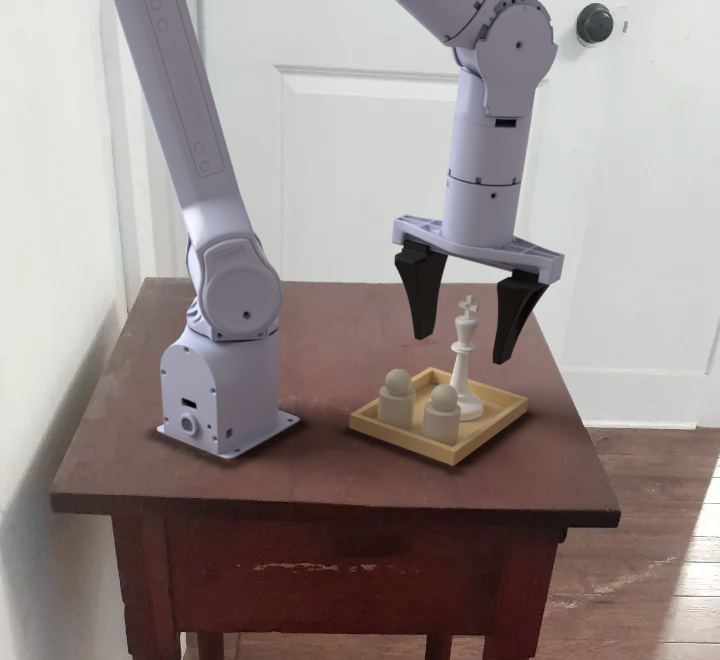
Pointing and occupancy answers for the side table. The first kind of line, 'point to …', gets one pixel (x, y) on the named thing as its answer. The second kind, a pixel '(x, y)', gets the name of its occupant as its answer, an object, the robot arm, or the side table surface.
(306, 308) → the side table surface
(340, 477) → the side table surface
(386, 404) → the pawn
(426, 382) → the chess tray
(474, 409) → the chess piece
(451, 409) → the pawn
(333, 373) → the side table surface
